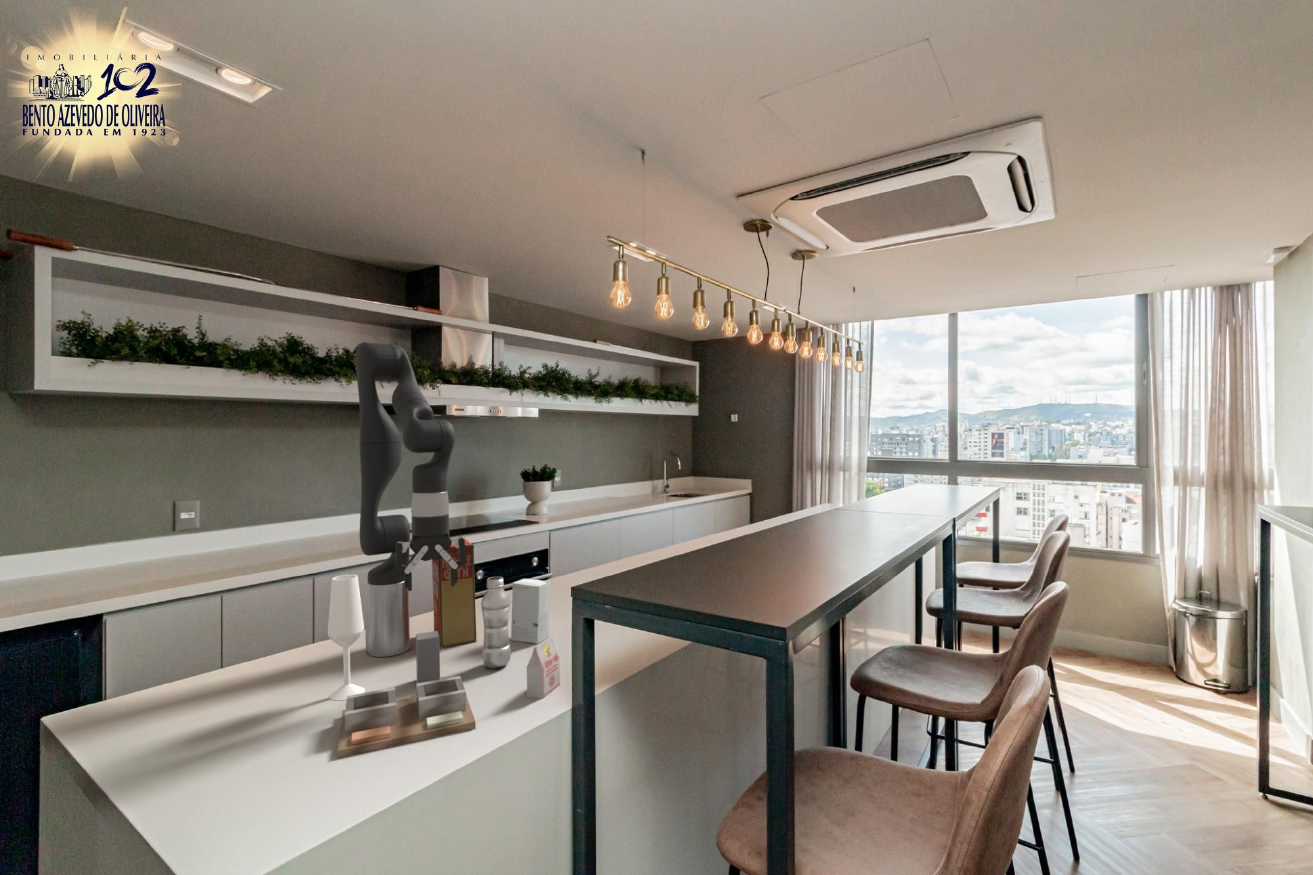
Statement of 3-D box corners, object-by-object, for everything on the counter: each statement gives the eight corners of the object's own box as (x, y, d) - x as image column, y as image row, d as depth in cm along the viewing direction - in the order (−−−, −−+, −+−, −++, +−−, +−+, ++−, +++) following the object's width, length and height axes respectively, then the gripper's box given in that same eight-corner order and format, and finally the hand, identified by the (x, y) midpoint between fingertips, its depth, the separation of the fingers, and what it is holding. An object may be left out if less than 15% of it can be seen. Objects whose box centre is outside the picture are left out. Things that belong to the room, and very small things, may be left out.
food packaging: (431, 632, 161) (430, 539, 161) (468, 626, 166) (466, 536, 165) (439, 648, 149) (437, 547, 149) (478, 641, 154) (476, 544, 154)
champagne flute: (350, 701, 120) (347, 581, 120) (321, 699, 122) (318, 580, 121) (372, 687, 127) (370, 573, 127) (344, 685, 128) (342, 572, 128)
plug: (417, 687, 127) (417, 640, 127) (416, 679, 131) (415, 633, 131) (440, 683, 129) (439, 636, 128) (438, 675, 132) (437, 630, 132)
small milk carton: (527, 695, 122) (526, 646, 122) (544, 682, 128) (543, 635, 128) (543, 698, 121) (542, 648, 121) (559, 685, 127) (559, 637, 127)
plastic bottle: (515, 660, 141) (513, 575, 141) (505, 672, 134) (503, 582, 134) (488, 659, 141) (487, 574, 141) (477, 671, 135) (475, 582, 134)
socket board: (337, 757, 99) (337, 729, 99) (342, 716, 114) (342, 691, 114) (475, 728, 109) (475, 702, 109) (463, 693, 123) (463, 670, 123)
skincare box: (510, 640, 154) (509, 583, 154) (523, 633, 160) (522, 577, 160) (539, 644, 151) (538, 585, 151) (551, 636, 157) (550, 579, 157)
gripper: (394, 517, 123) (395, 596, 123) (467, 512, 129) (468, 588, 129) (393, 512, 130) (394, 587, 130) (462, 508, 136) (463, 580, 136)
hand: (431, 587), depth 130 cm, fingers open, 8 cm apart
